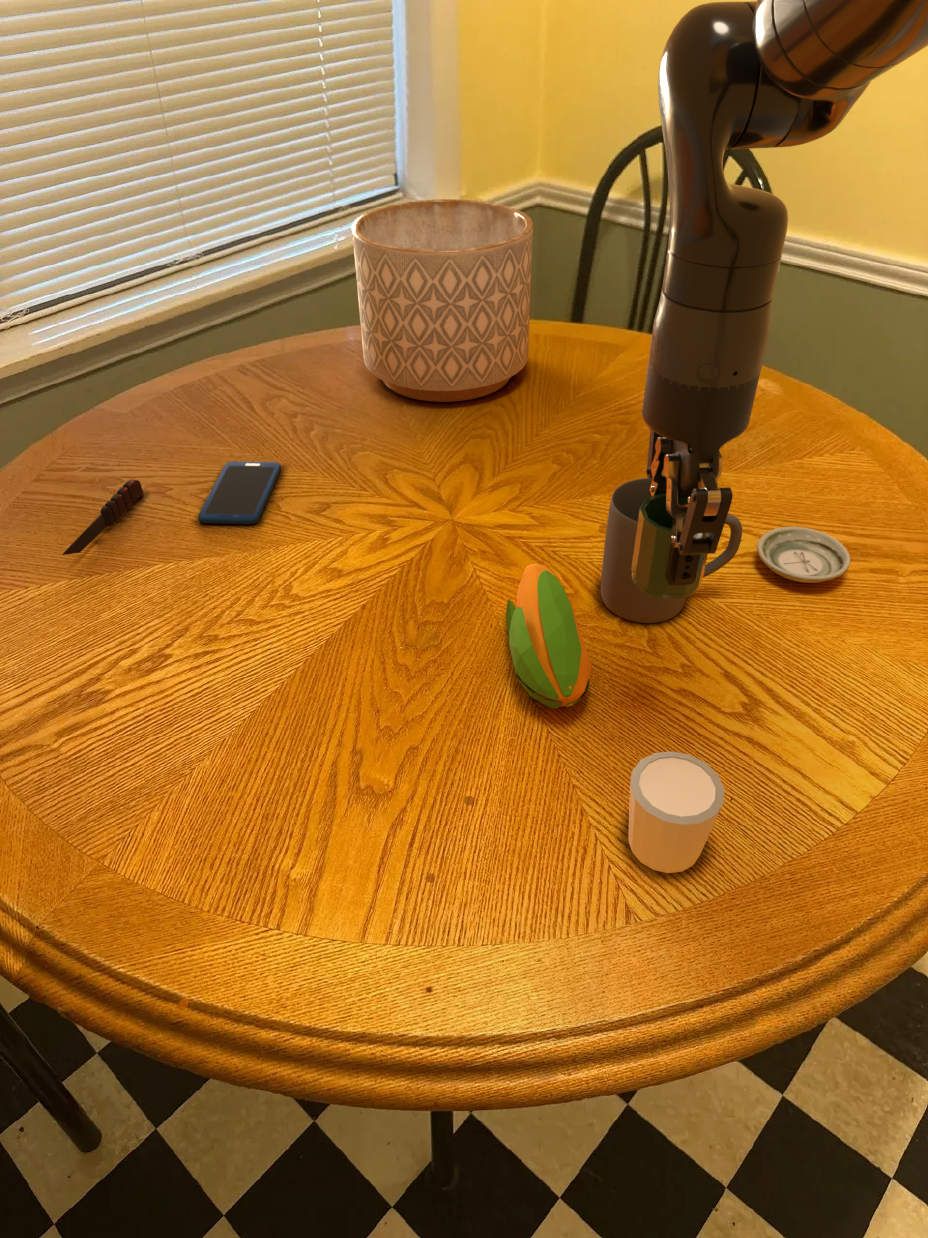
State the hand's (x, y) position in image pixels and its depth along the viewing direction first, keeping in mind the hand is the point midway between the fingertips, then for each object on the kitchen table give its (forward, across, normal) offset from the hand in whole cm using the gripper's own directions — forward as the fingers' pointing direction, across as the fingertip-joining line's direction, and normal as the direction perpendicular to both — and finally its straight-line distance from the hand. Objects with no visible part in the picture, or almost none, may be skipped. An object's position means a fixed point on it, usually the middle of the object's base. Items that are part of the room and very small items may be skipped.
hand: (670, 558), depth 70 cm
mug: (+16, +15, -5) cm, 23 cm away
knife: (+17, +32, +58) cm, 68 cm away
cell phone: (+16, +39, +43) cm, 60 cm away
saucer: (+16, +19, -21) cm, 33 cm away
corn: (+16, +7, +9) cm, 20 cm away
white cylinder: (+16, -16, +2) cm, 23 cm away
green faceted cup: (+2, 0, 0) cm, 2 cm away
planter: (+17, +73, +16) cm, 76 cm away
